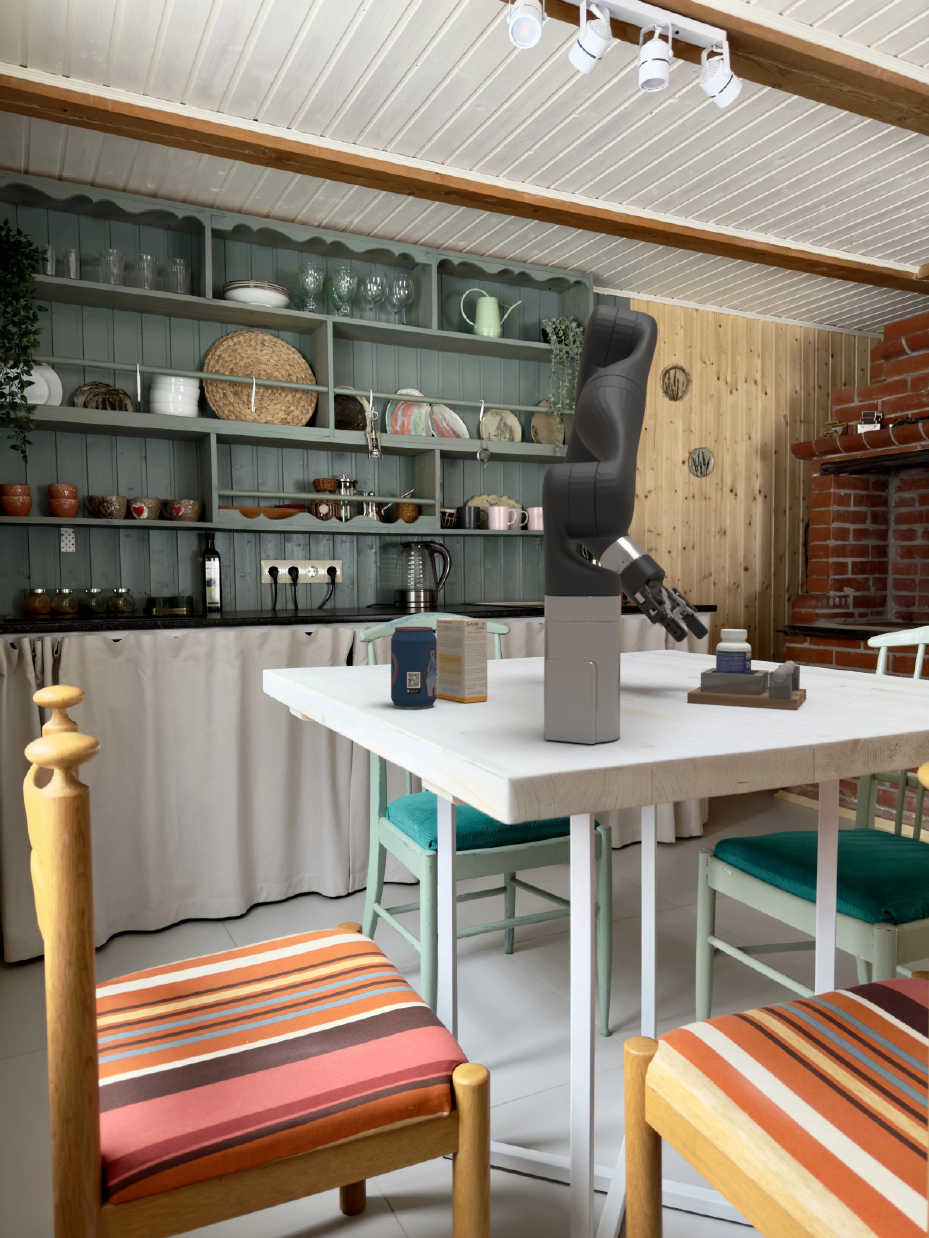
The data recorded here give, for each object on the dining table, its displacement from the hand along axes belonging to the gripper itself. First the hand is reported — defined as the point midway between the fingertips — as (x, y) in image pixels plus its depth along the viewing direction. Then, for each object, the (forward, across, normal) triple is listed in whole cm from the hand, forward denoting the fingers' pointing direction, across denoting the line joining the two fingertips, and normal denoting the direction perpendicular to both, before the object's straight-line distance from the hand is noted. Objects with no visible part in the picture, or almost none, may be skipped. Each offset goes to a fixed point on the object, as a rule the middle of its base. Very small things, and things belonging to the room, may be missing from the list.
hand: (694, 637), depth 139 cm
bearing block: (+13, 0, 0) cm, 13 cm away
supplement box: (-13, -27, +27) cm, 40 cm away
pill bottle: (+11, 0, +1) cm, 11 cm away
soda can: (-14, -37, +28) cm, 48 cm away
